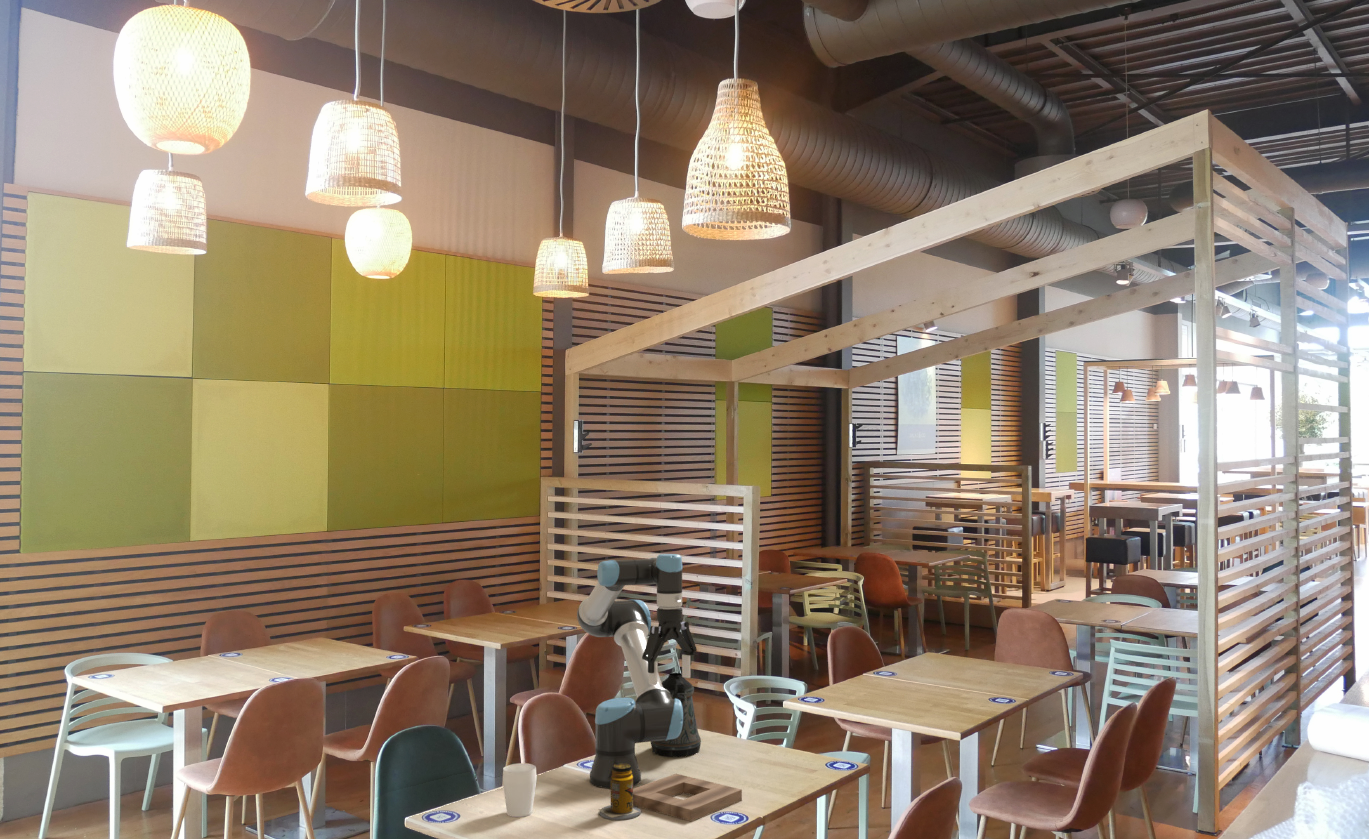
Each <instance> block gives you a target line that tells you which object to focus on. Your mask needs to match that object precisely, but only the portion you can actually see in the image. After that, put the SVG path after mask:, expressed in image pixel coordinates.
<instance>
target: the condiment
mask: <svg viewBox="0 0 1369 839" xmlns="http://www.w3.org/2000/svg"><path fill="white" fill-rule="evenodd" d="M631 769H632V767H631V765H629V764H625V763H624V764H623V763H621V764H615V765H613V767H612V776H611V788H610V805H611V807H609V808H605V809H602V808H601V809H598V812H600V811H601V812H602V813H604V814H606V815H608V816H609V817H611V818H613V817H617V816H621V815H628V814H633V813H637V812H639V811H637V810H635V809H633V806H634V805H633V789H634V785H633V776H632V774H631V773H632V771H631Z"/></svg>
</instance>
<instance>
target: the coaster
mask: <svg viewBox="0 0 1369 839" xmlns="http://www.w3.org/2000/svg"><path fill="white" fill-rule="evenodd" d="M609 807H611V804H609V805H607V806H604V807H602V808H601V809H605V808H609ZM633 809H635V810H637V811H639V812H637V813H633V814H628V815H621V816H617V817H613V818H611V817H609V816H608V815H606V814H604V813H602V812H601V811H598V812H599V816H600V817H601V818H603V819H605V820H609V821H611V820H612V821H627V820H632V819H635V818H637V817H639V816H640V815H641V813H642V810H641V807H637V806H634V805H633Z"/></svg>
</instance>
